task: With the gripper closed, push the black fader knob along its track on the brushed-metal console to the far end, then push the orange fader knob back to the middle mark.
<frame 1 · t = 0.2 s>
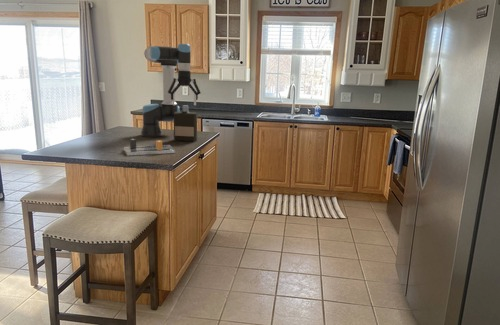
hand: (184, 105, 225), 28 cm above the countertop, fingers open, 13 cm apart
orange fader: (159, 145, 216), point 5 cm above the countertop, slide at 14.0 cm
bottle: (185, 140, 257), on the countertop
black fader: (133, 143, 218), point 5 cm above the countertop, slide at 0.0 cm
console: (149, 151, 220), on the countertop
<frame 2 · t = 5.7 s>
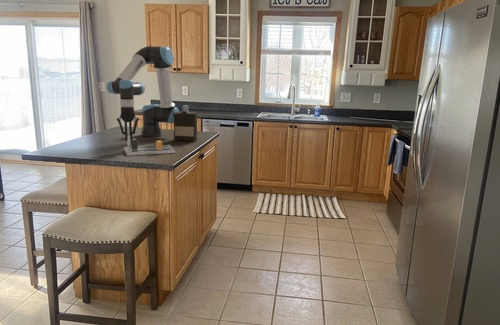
hand: (128, 145, 218), 4 cm above the countertop, fingers closed
black fader: (134, 143, 219), point 5 cm above the countertop, slide at 0.9 cm, touching gripper
everything else where it was.
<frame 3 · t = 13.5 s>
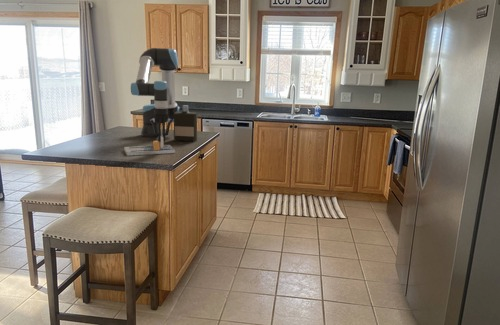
hand: (161, 146, 217), 4 cm above the countertop, fingers closed
orange fader: (156, 145, 215), point 5 cm above the countertop, slide at 12.3 cm, touching gripper
black fader: (159, 142, 225), point 5 cm above the countertop, slide at 15.7 cm
everything else where it was.
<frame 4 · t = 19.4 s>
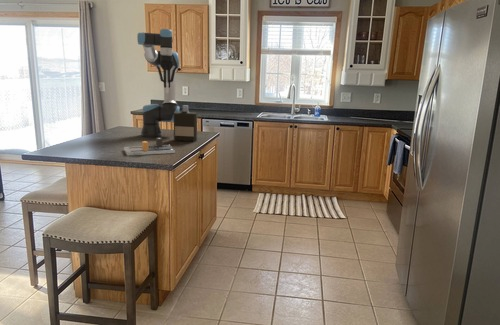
hand: (167, 92, 233), 34 cm above the countertop, fingers closed
orange fader: (145, 145, 213), point 5 cm above the countertop, slide at 5.8 cm
everything else where it was.
at the end: black fader slide at 15.7 cm; orange fader slide at 5.8 cm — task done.
